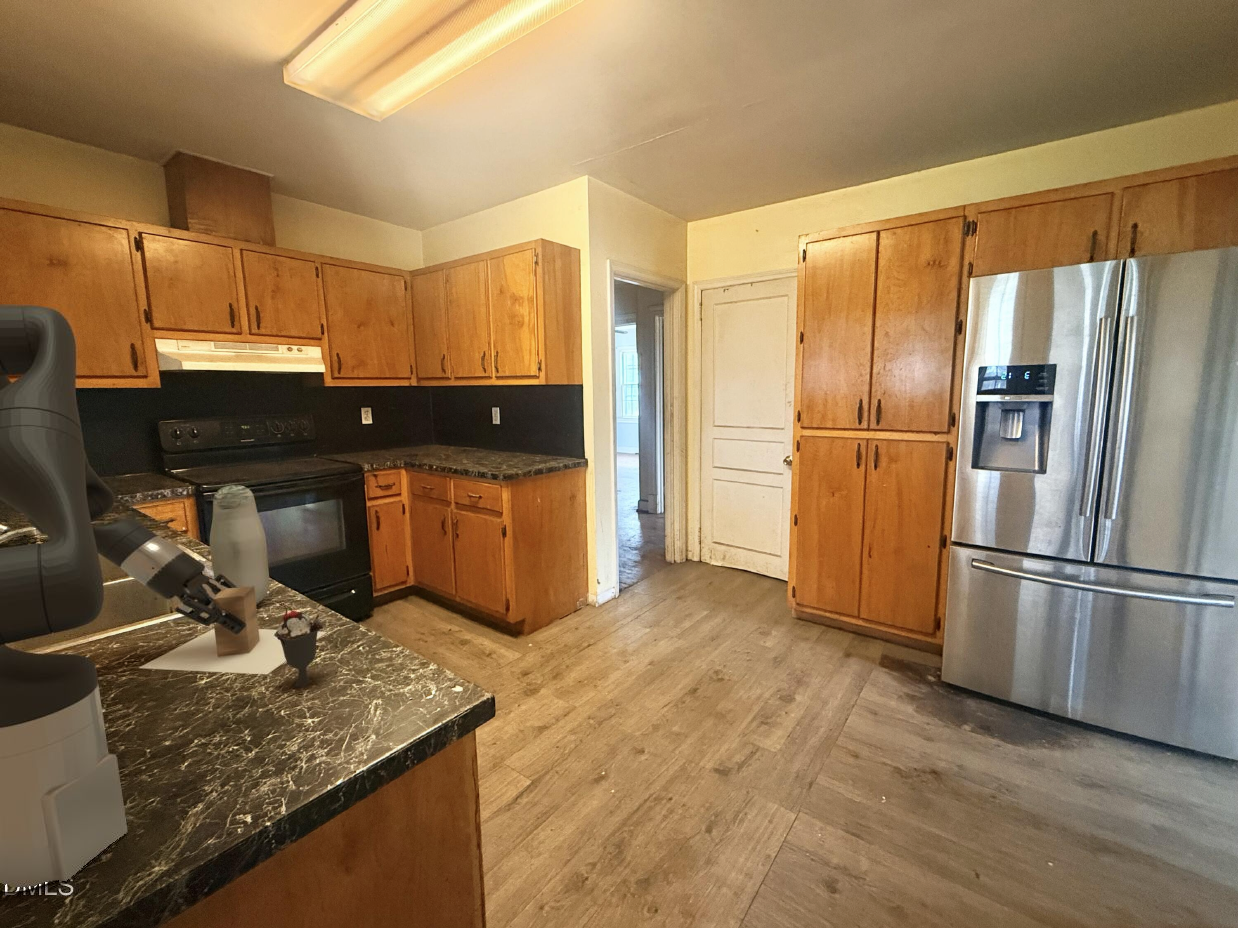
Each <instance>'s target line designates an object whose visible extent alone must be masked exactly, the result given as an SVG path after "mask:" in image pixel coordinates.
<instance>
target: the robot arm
mask: <svg viewBox="0 0 1238 928" xmlns="http://www.w3.org/2000/svg"><path fill="white" fill-rule="evenodd" d="M76 374H77V347H76V340H75V334H74V332H73V328H72V325H70V323H69V321H68V320H67V318H66V317H65V316H64V314H62V313H61V312H59V310H56V309H54V308H50V307H46V306H40V305H23V304H19V305H17V304H0V501H2V502H3V503H5V504H7V505H8V506H10V507H12V508H13V509H14V510H16V511H18V512H19V513H21V514H22V515H24V516H25V517H27V519H28V522H29V523H30V524H31V527H33V528H34V529H36V530H37V531H38V532H40V533H42V534H43V535H46V536H47V537H48V538H49V541H45V542H41V543H40V542H38V543H30V544H23V545H15V546H8V547H1V548H0V883H2V884H4V885H6V884H7V886H8V885H9V886H10V887H14V888H15V887H21V888H22V887H25V888H26V886H27V887H29V886H36V885H38V884H42V883H44V882H49V881H53V880H59V881H66V882H68V881H69V880H71V879H72V878H73V877H74V876H75V875H77V874H78V873H79V872H80V871H81V870H82V869H81V868H83V866H84V865H86V864H87V863H88V862H89V861H90V860H92V859H93V858H94V857H96V856H97V855H98V854H99V853H100V852H101V851H103V850H104V849H106V848H107V847H108V846H109V845H110V844H112V843H113V842H115V841H116V840H117V839H118V840H120V839H121V838H122V837H123V836H125V835H126V834H127V833H128V825H127V819H126V813H125V812H126V810H125V806H124V799H123V791H122V785H121V779H120V778H121V777H120V772H119V764H118V757H117V755H116V754H114V753H109V749H108V748H109V747H108V741H107V736H106V727H105V721H104V714H103V707H102V701H101V694H100V687H99V680H98V679H99V678H98V673H97V668H96V664H95V663H94V661H93V660H92V659H90V658H89V657H87V656H85V655H80V654H72V653H38V652H36V653H35V652H28V651H23V650H19V649H16V648H12V647H10V646H8V645H6V644H12V643H17V642H21V641H25V640H29V639H35V638H38V637H44V636H49V635H51V634H56V633H61V632H65V631H70V630H74V629H77V628H79V627H83V626H86V625H88V624H90V623H92V622H94V621H96V620H97V618H98V617H99V615H100V614H101V611H102V609H103V605H104V600H105V599H104V598H105V596H104V595H105V590H104V579H103V577H104V576H103V571H102V566H101V561H100V556H102V557H103V558H105V559H106V560H108V561H109V562H111V563H112V564H113V565H115V566H117V567H118V568H120V569H122V570H123V571H124V572H125V573H126V574H127V575H129V576H130V577H132V578H133V579H134V580H135V581H137V582H139V583H140V584H142V585H143V586H145V587H146V588H148V589H150V590H151V591H152V592H154V593H156V594H158V596H160V597H162V598H163V599H166V600H168V601H169V600H172V599H174V598H177V599H178V600H179V601H180V603H179V604H178V605H177V606H176V607H175V608H174V611H175V612H176V613H178V614H180V615H182V616H184V617H186V618H188V619H190V620H193V621H195V622H196V623H199V624H201V625H203V626H205V627H210V626H211V625H212V624H213V625H214V624H218V623H219V624H220V625H222V626H223V627H225V628H227V629H228V630H230V631H231V632H233V633H234V634H239V633H240V632H241V631H242V630H243V629H244V628H245V627H246V623H244V622H243V621H241V620H240V619H238V618H237V617H235V616H234V615H232V614H231V613H228V612H227V611H226V610H225V609H224V608H223V607H221V606H220V605H219V602H218V601H217V600H216V599H214V598H216V597H217V596H216V595H217V594H218V593H219V592H220V591H223V590H226V589H228V588H237V587H236V586H235V585H234V584H233V583H232V582H231V581H229V580H228V579H227V578H226V577H225V576H224V575H222V574H219V575H218V576H217V577H216V578H214V577H213V578H212V576H211V577H210V576H208V575H206V574H204V573H203V572H204V571H205V568H206V565H205V564H203V563H202V562H201V561H199V560H198V559H196V558H195V557H193V556H192V555H190V554H189V553H188V552H186V551H185V550H183V549H181V547H178V545H176V544H174V543H173V542H171V541H169V540H167V539H165V538H163V537H161V536H160V535H158V534H157V533H155V532H154V531H152V530H150V529H149V528H147V527H146V526H144V525H143V524H142V523H140V522H138V520H136V519H134V518H121V519H120V520H117V521H114V522H111V523H108V524H104V525H98V524H97V525H96V524H92V523H93V522H95V521H97V520H98V519H100V518H102V517H103V516H104V515H106V514H108V513H109V512H110V511H112V509H113V507H114V505H115V502H116V498H115V497H116V496H115V494H114V492H113V491H112V489H111V488H110V487H109V486H108V485H107V484H106V483H105V482H104V481H103V480H102V479H101V478H100V477H99V475H98V474H97V473H96V472H95V470H94V469H93V468H92V466H91V465H90V463H89V460H88V459H89V458H88V457H87V453H86V451H85V446H84V445H85V444H84V435H83V430H82V422H81V419H80V413H79V409H78V402H77V395H76V391H77V390H76V381H77V380H76V379H77V378H76V377H77V375H76ZM8 376H19V377H18V378H16V380H14V381H11V380H10V378H9V377H8ZM214 608H215V609H216V610H217V611H218V612H217V611H215V610H213V609H214ZM227 613H228V614H227ZM258 614H259V611H258V610H257V615H258ZM124 834H125V835H124ZM120 837H121V838H120ZM119 838H120V839H119ZM118 840H117V841H118ZM117 841H116V842H117ZM116 842H115V843H116ZM113 844H114V843H113ZM113 844H112V845H113ZM107 849H108V848H107ZM107 849H106V850H107ZM97 857H98V856H97ZM97 857H96V858H97ZM86 866H87V865H86ZM83 869H84V868H83ZM79 870H80V871H79ZM78 871H79V872H78ZM77 872H78V873H77ZM76 873H77V874H76ZM73 875H74V876H73ZM72 876H73V877H72ZM71 877H72V878H71ZM68 879H69V880H68ZM67 880H68V881H67Z"/></svg>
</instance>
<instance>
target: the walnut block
mask: <svg viewBox="0 0 1238 928" xmlns="http://www.w3.org/2000/svg"><path fill="white" fill-rule="evenodd" d="M216 596H217V597H216V598H214V599H216V600H217V601H218V602H219V605H220V606H221V607H223V608H224V609H225V610H226V611H227V612H228V613H231V614H232V615H234V616H235V617H237V618H238V619H240V620H241V621H243V622H244V623H246V627H245V628H244V629H243V630H242V631H241V632H240V633H239V634H234V633H233V632H231V631H230V630H228V629H227V628H225V627H223V626H222V625H220V624H219V623H218V624H214V623H213V629H215V638H216V647H217V655H218V657H221V656H229V655H238V654H246V653H250V652H251V651H252V649H253V648H254V647H255V646H256V645H257V644H258V642H259V641H260V638H259V629H260V628H259V620H258V614H257V611H258V610H257V609H258V608H257V605H256V599H255V589H254V586H250V587H239V588H228V589H226V590H223V591H220V592H219V593H218V594H217V595H216ZM213 610H215V611H217V610H216V609H215V608H214V609H213ZM217 612H218V611H217ZM228 613H227V614H228Z"/></svg>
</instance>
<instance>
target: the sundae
mask: <svg viewBox="0 0 1238 928" xmlns="http://www.w3.org/2000/svg"><path fill="white" fill-rule="evenodd" d="M278 605H279V606H280V607H283V608H284V609H285V610H286V611H285V614H284V615H282V617H281V618H282V620H283V621H282V622H281V623H280V624H279V626H278V628H277V630H278V631H277V632H276V633H275V634H274V636H275V637H277V638H278V640H280V641H281V644H282V648H283V652H284V656H285V659H286V661H285V662H286V663H287V665H288V666H290V667H291V668H293V669H296V670H297V672H298V673H297V674H298V675H297V676H298V678H297V680H296V683H295V684H294V686H295V687H298V688H302V687H306V686H308V685H309V684H311V683H312V682H313V681H312V679H310V678H309V676H308V673H307V672H308V671H307V668H308V667H309V665H311V664H312V663H313V661H314V660H315V658H316V653H317V642H318V639H317V633H318V631H321V630H323V629H324V626H323V624H322V622H321V621H319V617H320V614H317V615H316V617H315V618H314V620H312V619H311V616H310V614H307V613H305V612H298V611H297V610H293V609H291V607H289V605H286V604H285V603H284V602H280V603H278ZM287 608H288V609H289V610H290V613H288V609H287ZM307 694H308V693H307V692H305V693H301V694H299V693H298V694H293V696H294V697H295V696H302V695H307Z"/></svg>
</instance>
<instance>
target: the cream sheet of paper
mask: <svg viewBox="0 0 1238 928" xmlns="http://www.w3.org/2000/svg"><path fill="white" fill-rule="evenodd" d="M277 631H278V629H268V628H267V629H266V628H265V629H264V628H259V638H260V641H259V642H258V644H257V645H256V646H255V647H254V648H253V649H252V651H251V652H250V653H246V654H238V655H229V656H221V657H218V655H217V647H216V638H215V629H214V628H212V629H210V630H208V631H207V632H205V633H203V634H201V635H199V636H197V637H195V638H193V639H191V640H189V641H188V642H186V643H185V642H184V643H183V644H181V645H180V646H178V647H176V648H174V649H172V650H170V651H168V652H166V653H164V654H163V655H161V656H158V657H157V658H155V659H153V660H150V661H149V662H147V663H145V664H144V665H142V666H139V667H138V669H149V670H167V671H169V670H170V671H171V670H172V671H187V672H188V671H189V672H190V671H191V672H206V673H207V672H209V673H210V672H211V673H230V674H248V675H249V674H251V675H268V674H270V673H272V671H274V670H275V669H277V668H278V667H280V666H281V665H282V664H284V663H285V662H287V661H286V659H285V656H284V652H283V648H282V644H281V641H280V640H278V638H277V637H275V636H274V634H275V633H276V632H277ZM327 633H328V631H321V630H319V631H318V633H317V640H319V639H320V638H321V637H323V636H324V635H325V634H327Z"/></svg>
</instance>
